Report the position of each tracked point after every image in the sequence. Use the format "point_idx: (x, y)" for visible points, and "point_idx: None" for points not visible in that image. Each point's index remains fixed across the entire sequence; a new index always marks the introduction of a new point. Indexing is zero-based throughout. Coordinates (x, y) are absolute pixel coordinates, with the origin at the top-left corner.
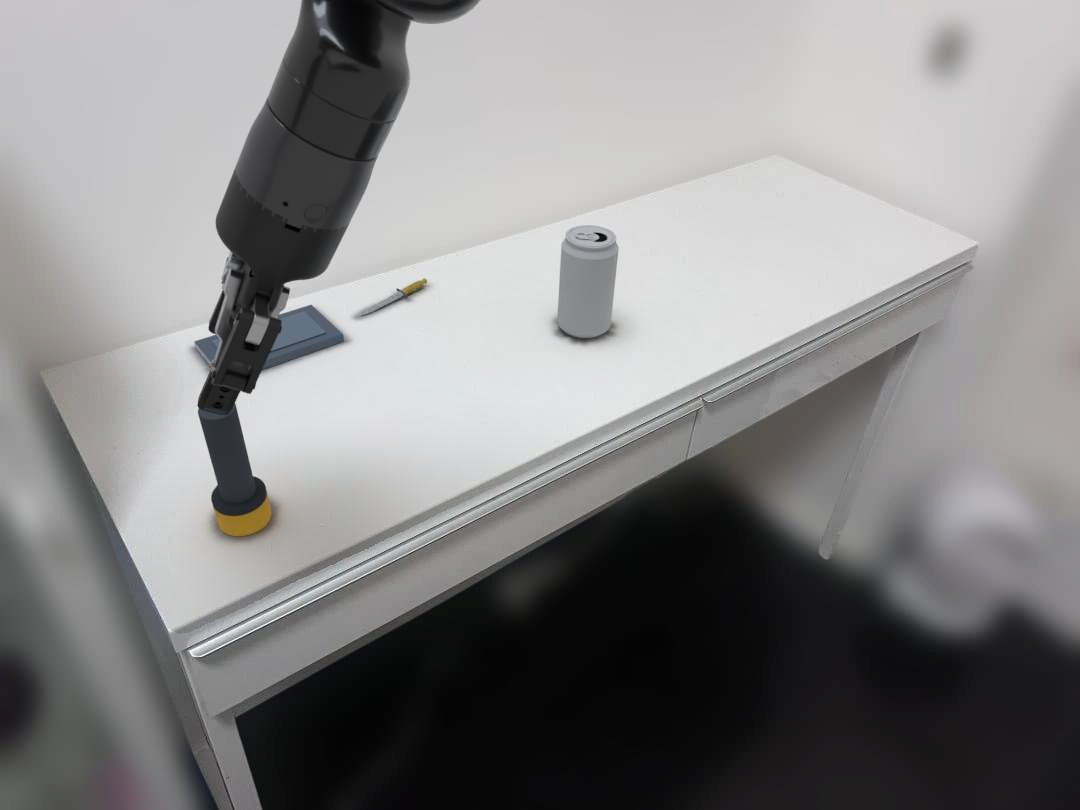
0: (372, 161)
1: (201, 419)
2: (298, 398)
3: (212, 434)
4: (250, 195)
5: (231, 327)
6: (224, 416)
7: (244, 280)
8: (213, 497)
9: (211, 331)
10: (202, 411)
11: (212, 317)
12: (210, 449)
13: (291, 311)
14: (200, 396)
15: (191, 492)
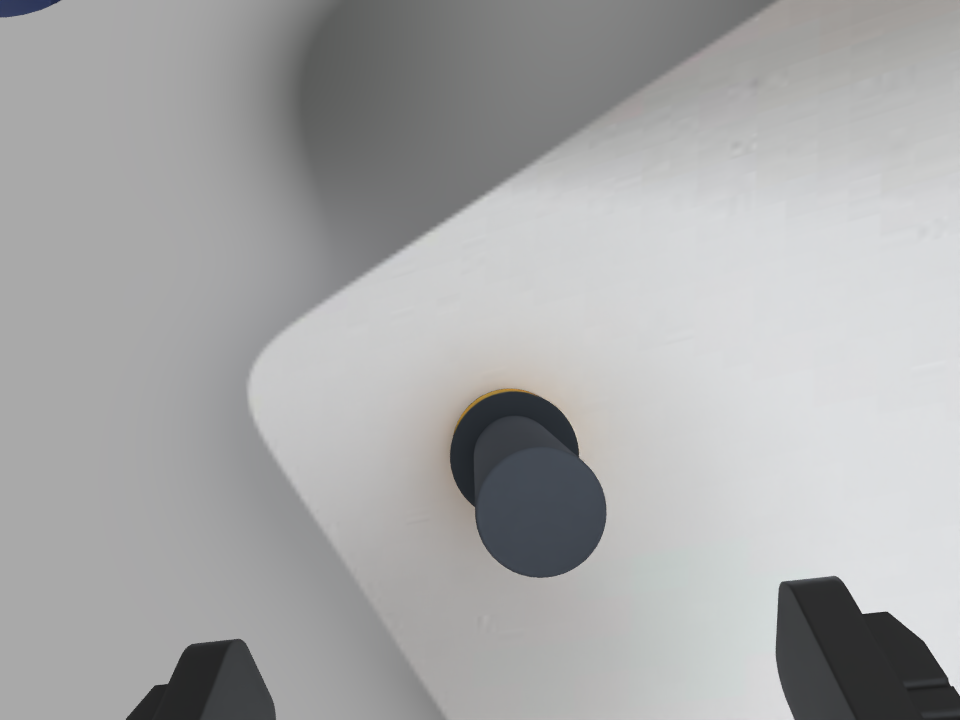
0: None
1: (493, 465)
2: (950, 489)
3: (476, 486)
4: None
5: (802, 707)
6: (491, 552)
7: None
8: (499, 399)
9: (781, 590)
10: (523, 466)
11: (829, 649)
12: (485, 453)
13: None
14: (173, 692)
15: (595, 305)
